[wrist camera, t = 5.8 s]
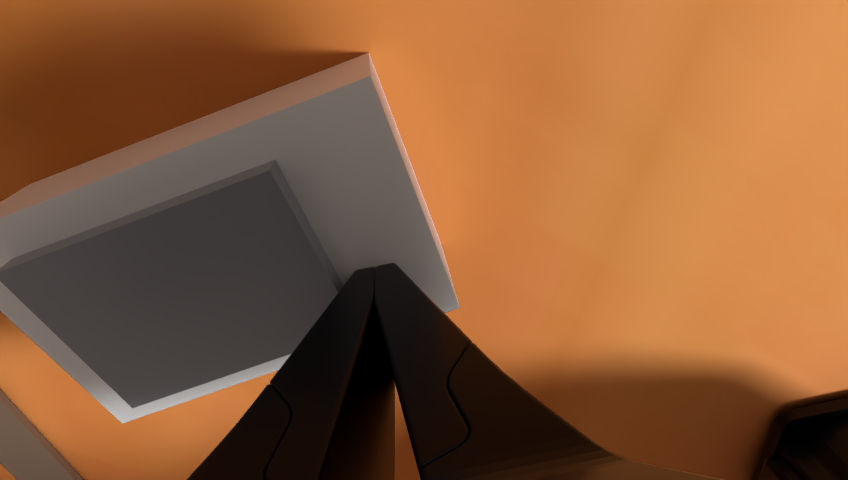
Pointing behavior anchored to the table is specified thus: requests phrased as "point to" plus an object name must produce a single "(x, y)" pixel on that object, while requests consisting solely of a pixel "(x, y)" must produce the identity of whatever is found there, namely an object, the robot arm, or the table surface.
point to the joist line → (28, 448)
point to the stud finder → (216, 241)
